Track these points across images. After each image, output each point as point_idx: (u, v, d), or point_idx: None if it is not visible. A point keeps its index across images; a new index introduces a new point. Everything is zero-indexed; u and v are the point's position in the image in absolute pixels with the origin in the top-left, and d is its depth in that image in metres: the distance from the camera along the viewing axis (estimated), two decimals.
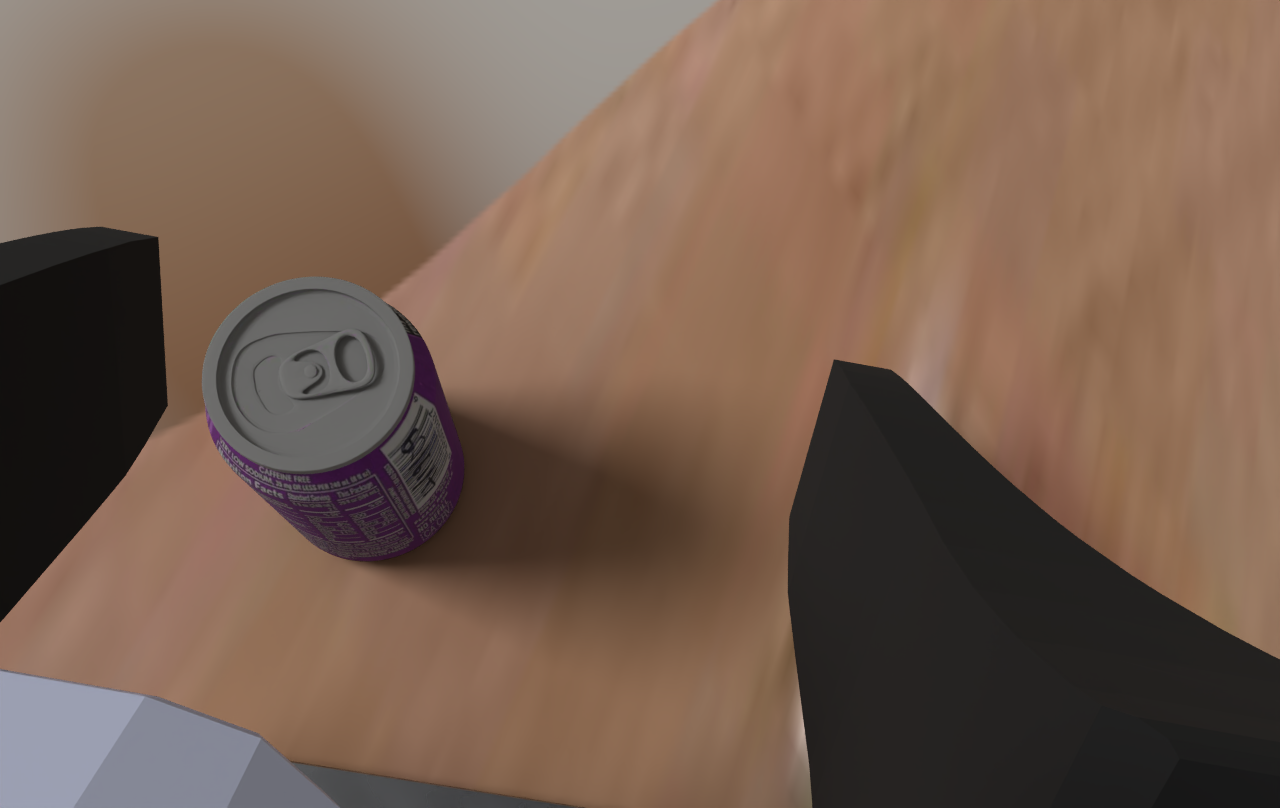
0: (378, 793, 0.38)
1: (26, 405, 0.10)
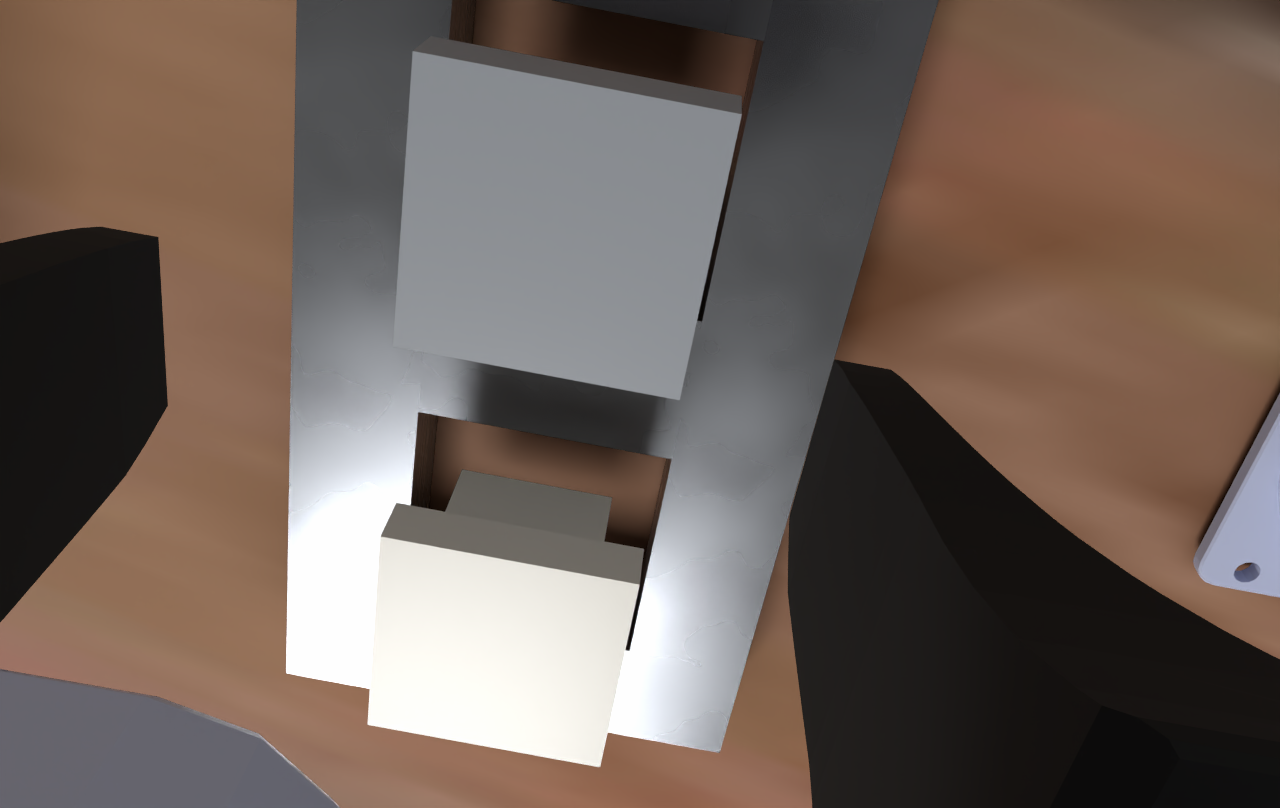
0: (315, 495, 0.23)
1: (25, 404, 0.10)
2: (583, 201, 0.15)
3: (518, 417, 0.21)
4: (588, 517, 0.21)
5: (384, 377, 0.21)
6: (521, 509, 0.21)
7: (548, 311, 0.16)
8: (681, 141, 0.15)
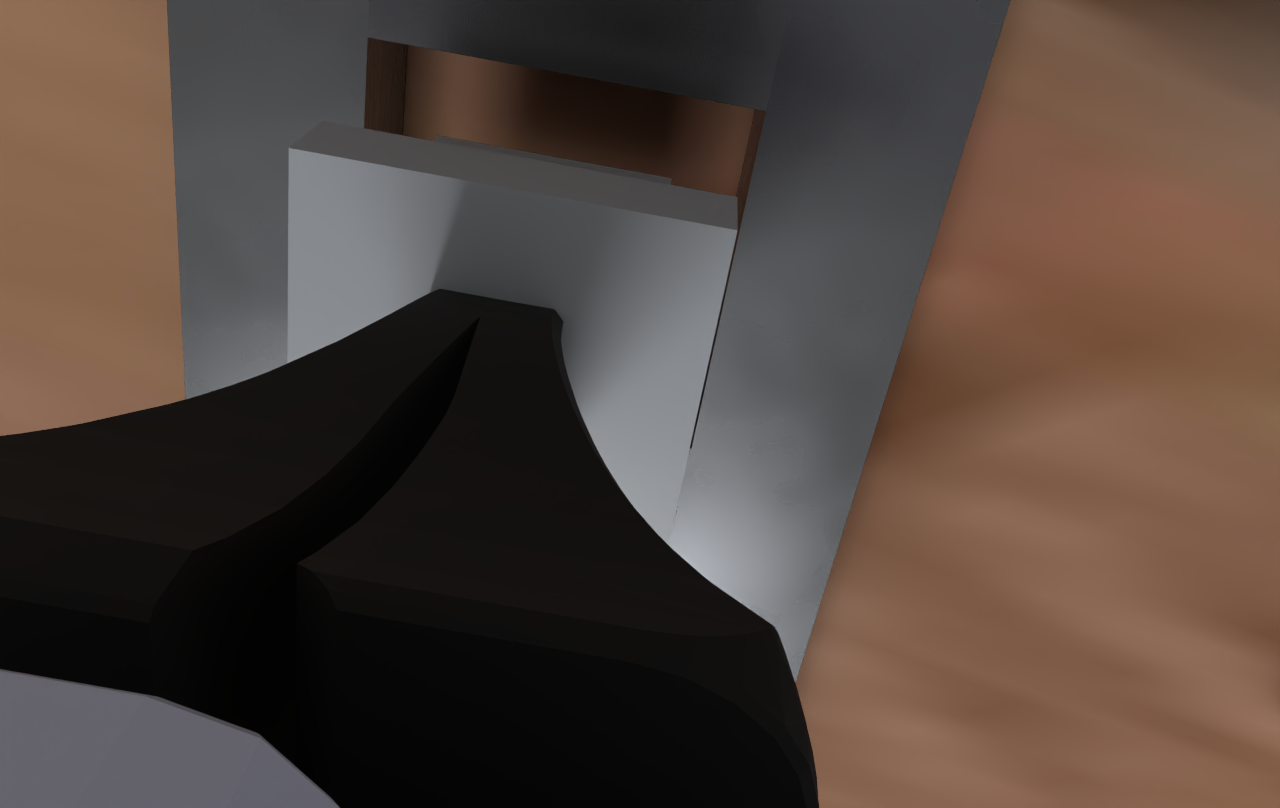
0: None
1: None
2: None
3: None
4: None
5: None
6: None
7: None
8: (656, 265, 0.11)
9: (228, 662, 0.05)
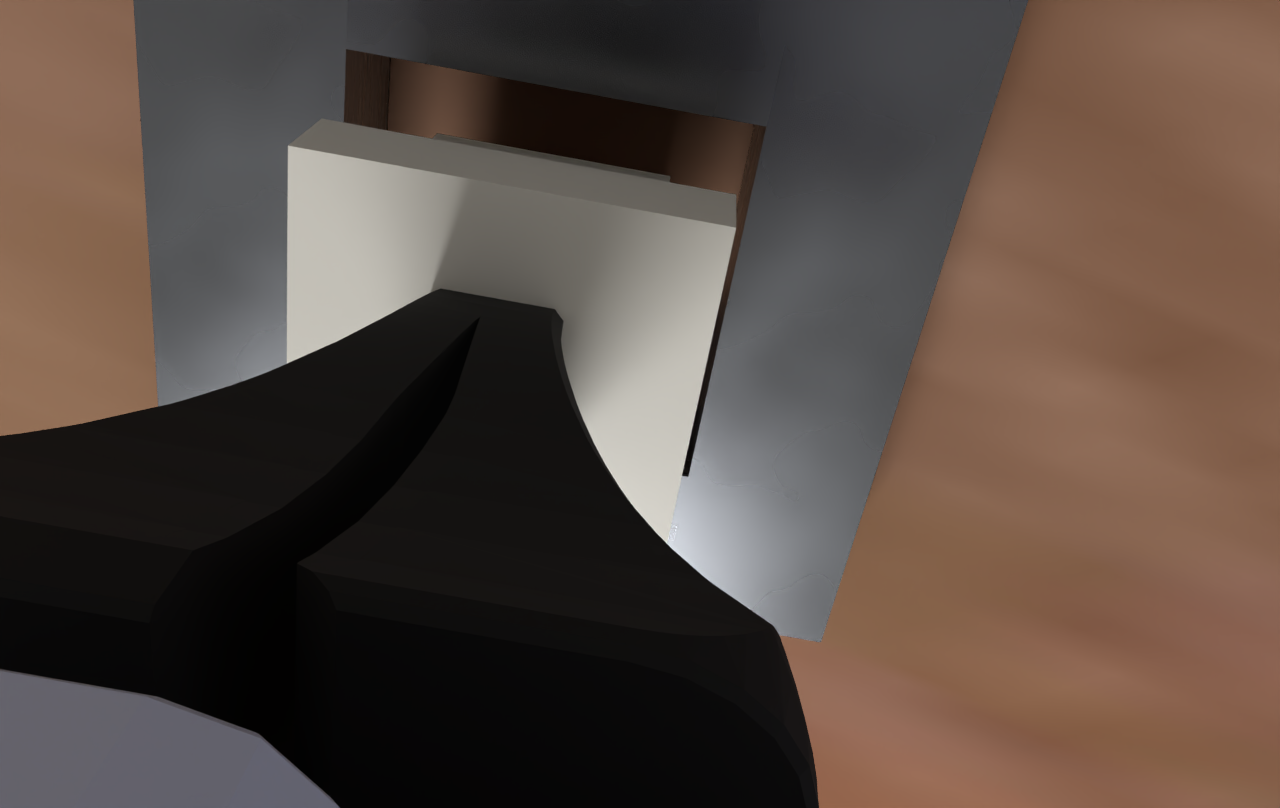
0: (189, 213, 0.14)
1: None
2: None
3: (512, 53, 0.13)
4: None
5: None
6: None
7: None
8: None
9: (228, 662, 0.05)
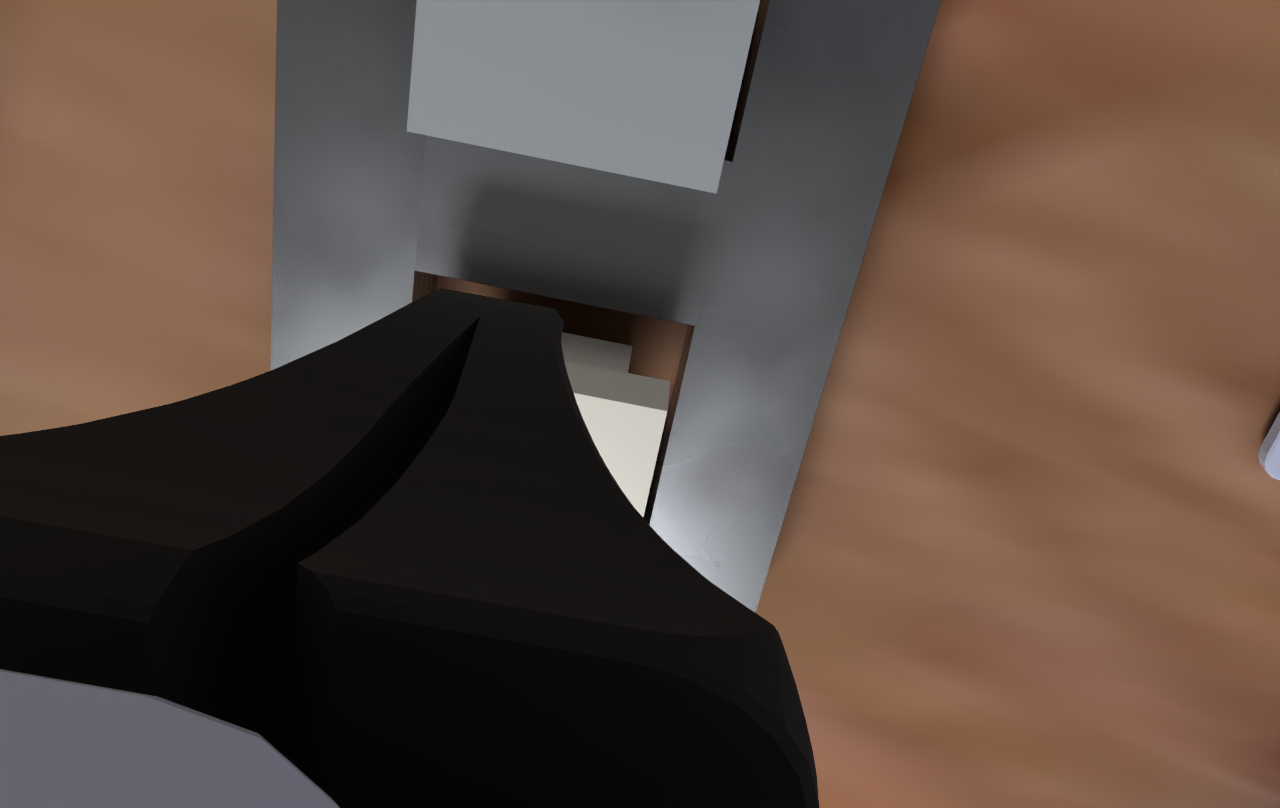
0: None
1: None
2: None
3: (525, 276, 0.19)
4: (608, 361, 0.20)
5: (376, 230, 0.19)
6: None
7: (576, 88, 0.15)
8: None
9: (229, 662, 0.05)
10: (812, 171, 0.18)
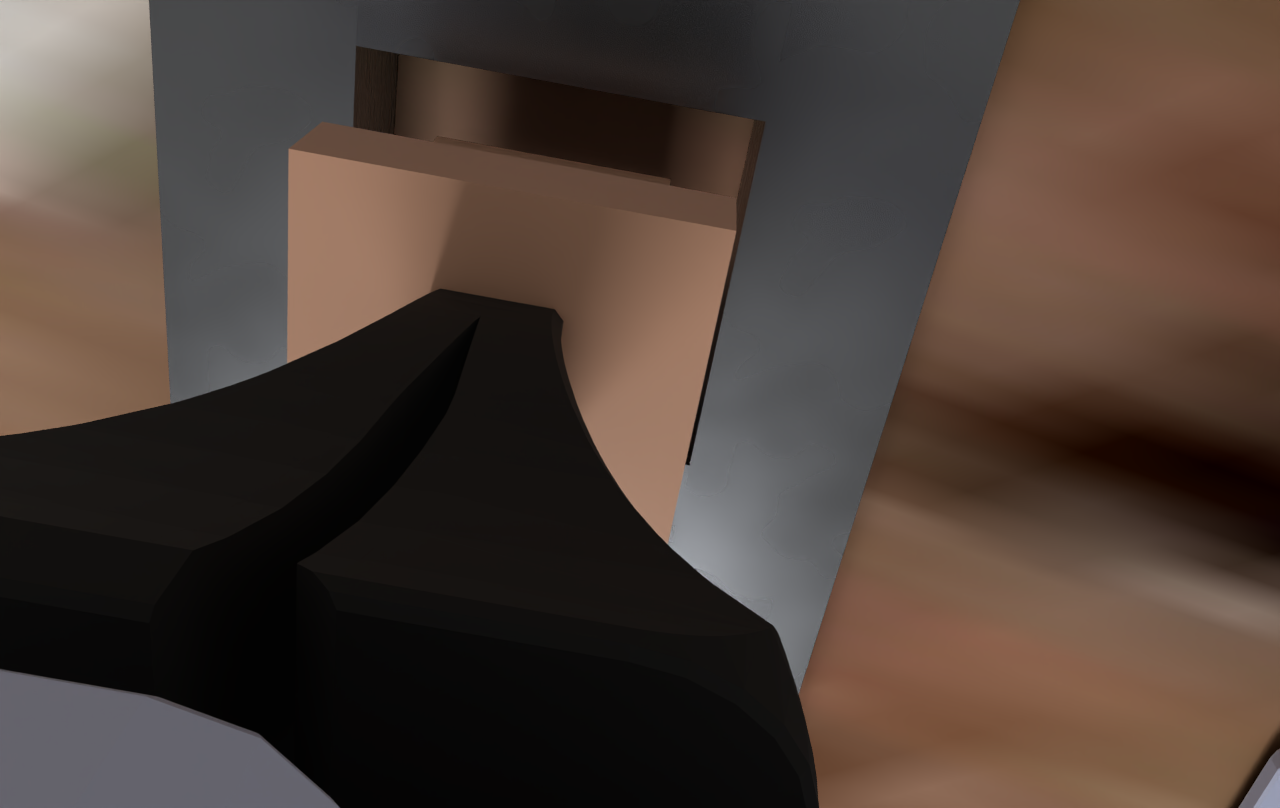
0: None
1: None
2: None
3: None
4: None
5: None
6: None
7: None
8: None
9: (228, 662, 0.05)
10: None
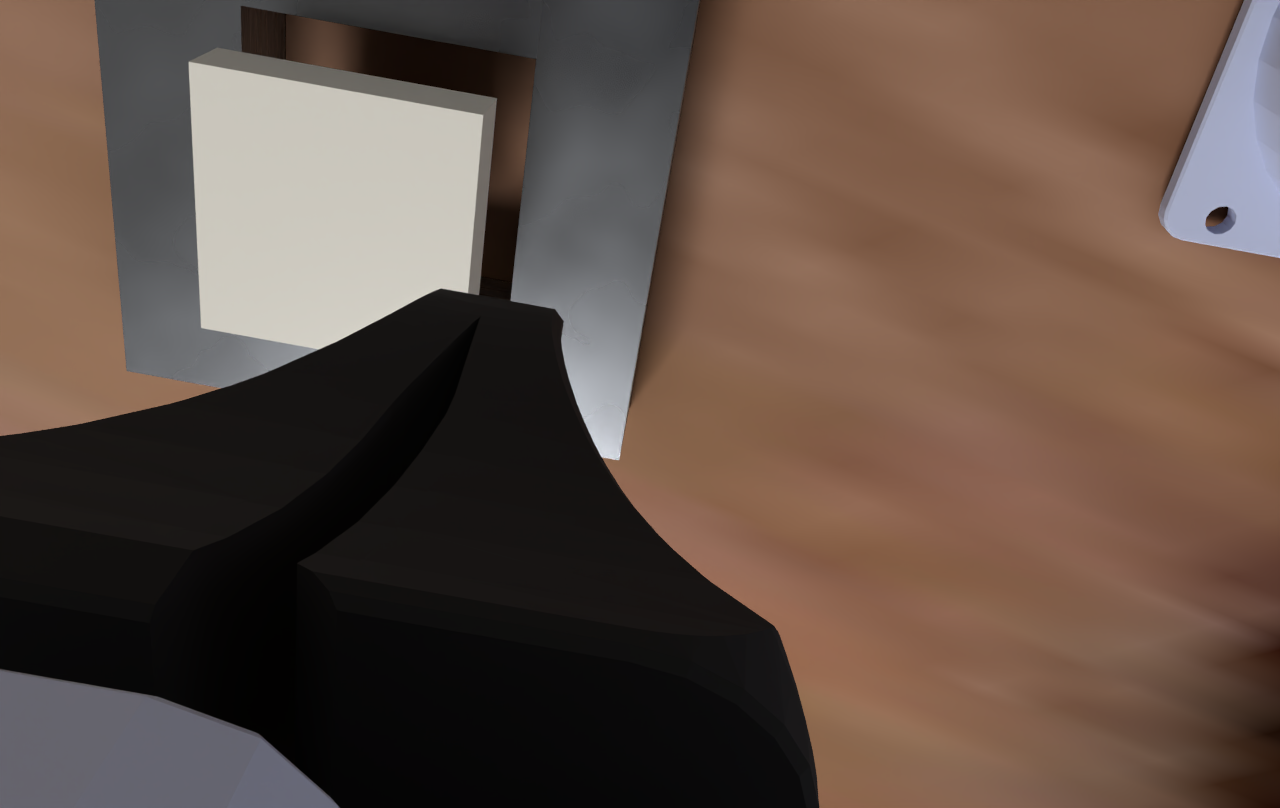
0: (136, 127, 0.20)
1: None
2: None
3: (355, 7, 0.18)
4: None
5: None
6: None
7: None
8: None
9: (229, 661, 0.05)
10: None
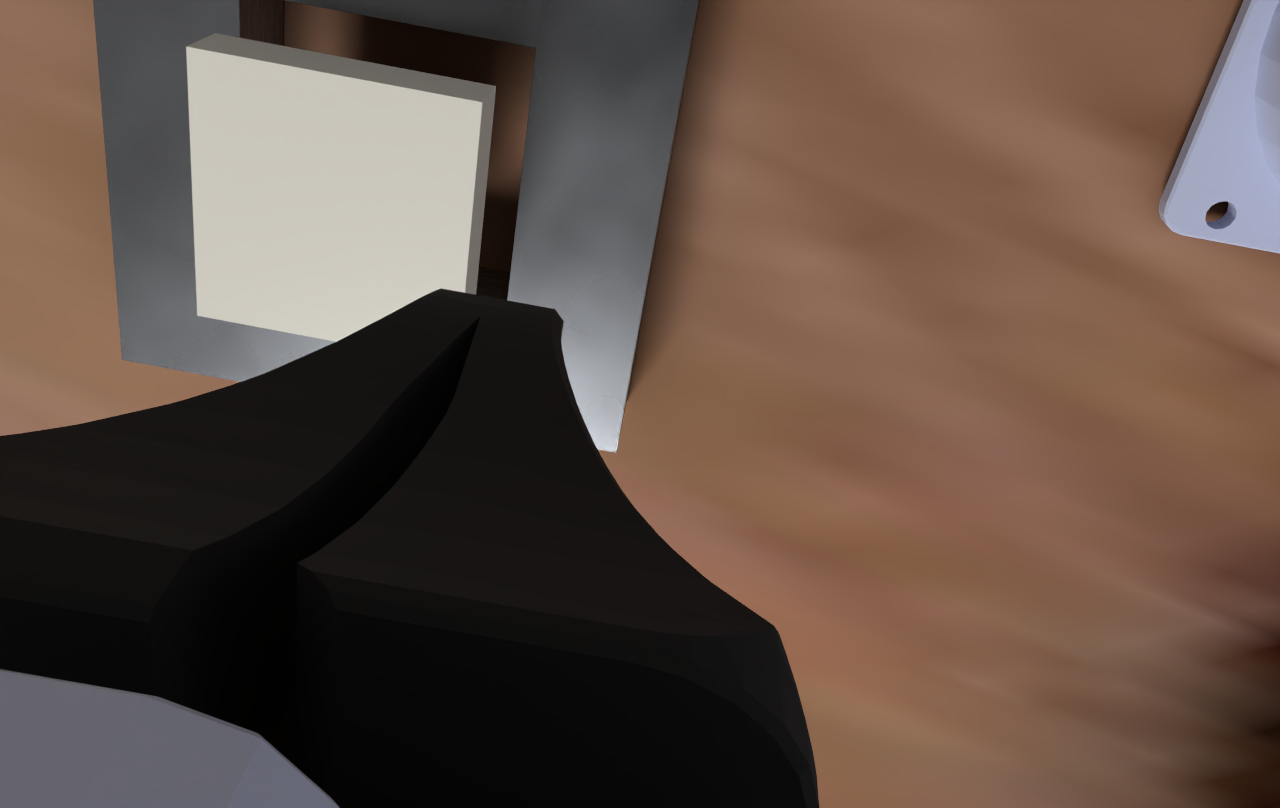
0: (132, 113, 0.20)
1: None
2: None
3: None
4: None
5: None
6: None
7: None
8: None
9: (229, 662, 0.05)
10: None
